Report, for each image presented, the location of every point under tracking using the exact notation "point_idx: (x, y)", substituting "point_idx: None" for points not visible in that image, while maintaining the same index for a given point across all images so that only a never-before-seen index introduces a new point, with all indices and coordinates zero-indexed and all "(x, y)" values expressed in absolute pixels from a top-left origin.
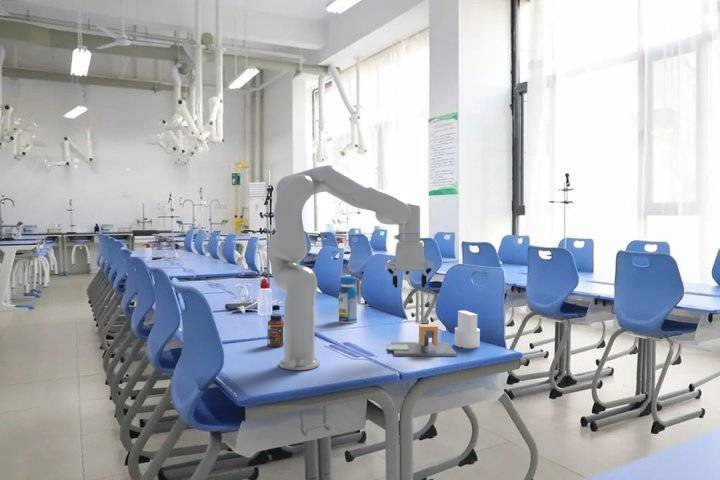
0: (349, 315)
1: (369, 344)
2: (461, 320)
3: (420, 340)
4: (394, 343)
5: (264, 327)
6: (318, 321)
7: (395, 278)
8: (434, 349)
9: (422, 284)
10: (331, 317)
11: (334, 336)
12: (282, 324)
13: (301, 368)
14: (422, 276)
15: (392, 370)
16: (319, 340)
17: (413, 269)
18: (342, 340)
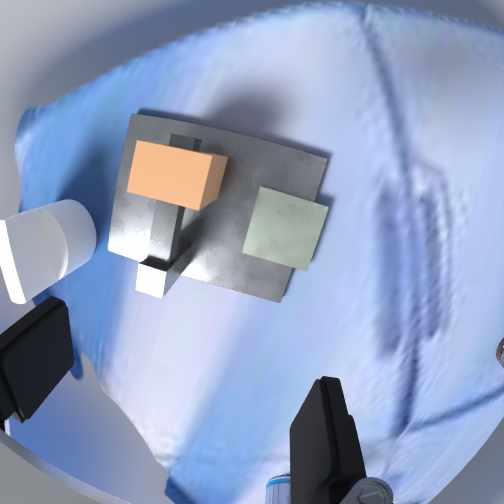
0: (289, 489)
1: (339, 322)
2: (36, 268)
3: (223, 157)
4: (275, 286)
5: (440, 456)
6: None
7: (354, 452)
8: None
9: (55, 324)
10: None
11: (378, 406)
12: None
13: None
14: (5, 369)
15: (376, 33)
16: (427, 378)
17: (28, 478)
18: (383, 373)
